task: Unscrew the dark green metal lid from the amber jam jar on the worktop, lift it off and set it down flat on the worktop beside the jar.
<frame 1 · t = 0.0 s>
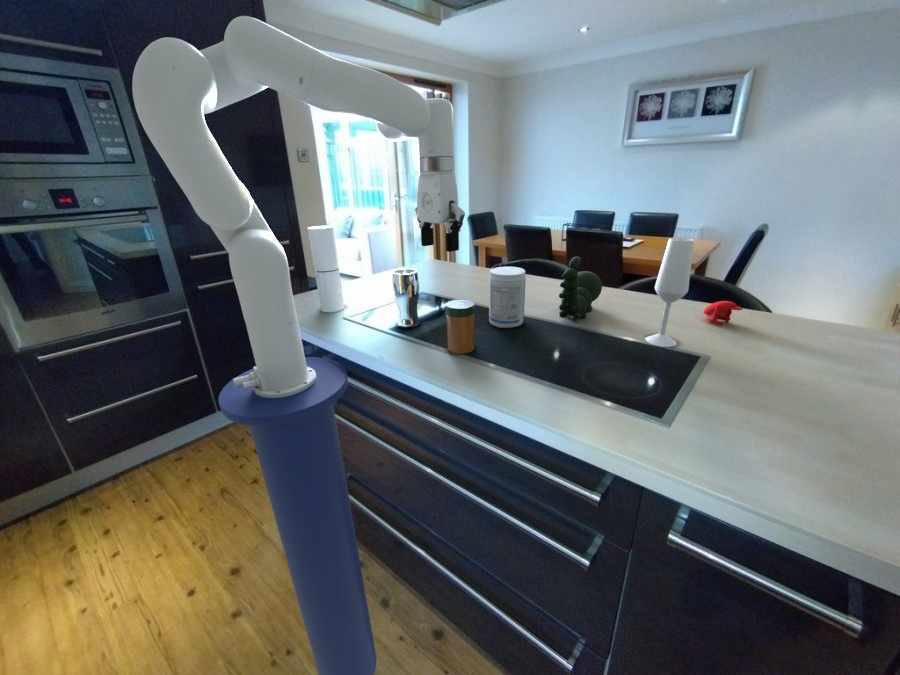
hand: (439, 248, 89), 23 cm above the table, tool pointing down, fingers open, 9 cm apart
cylindrical container: (332, 309, 123), on the table
beer glass: (408, 324, 108), on the table
toy figurine: (577, 313, 113), on the table
red animal figurine: (718, 323, 103), on the table
lid: (460, 305, 88), point 11 cm above the table, screwed on, not yet turned
jar: (460, 348, 92), on the table
supplement tub: (506, 323, 107), on the table
champagne flute: (660, 341, 93), on the table
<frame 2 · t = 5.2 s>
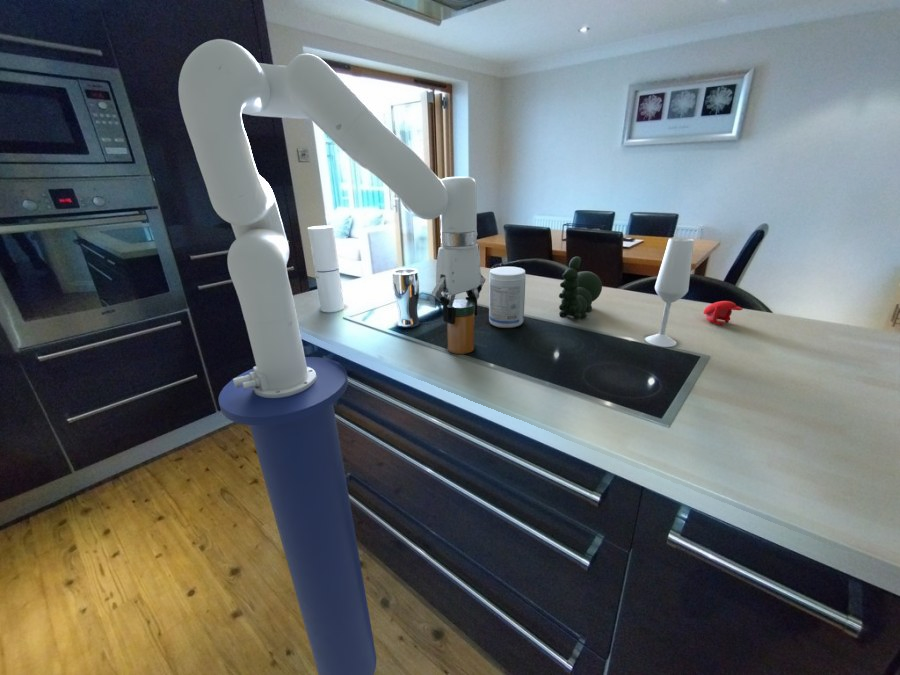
hand: (460, 317, 89), 8 cm above the table, tool pointing down, fingers closed on lid, 6 cm apart
lid: (460, 305, 88), point 11 cm above the table, turned 96° so far, risen 0.1 cm, still on its thread, touching gripper
jar: (460, 348, 92), on the table, touching gripper
everything else where it was.
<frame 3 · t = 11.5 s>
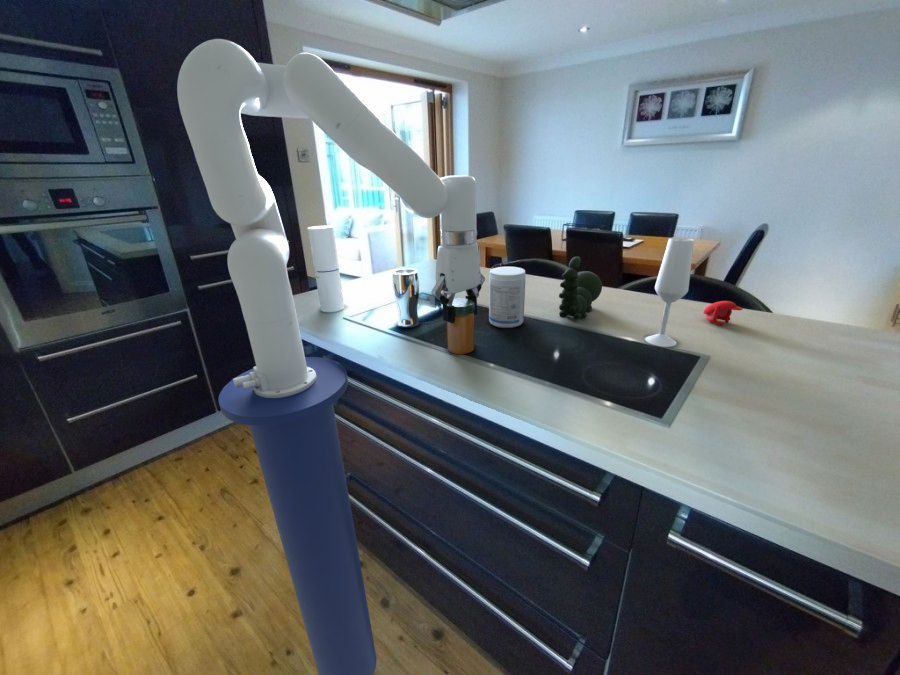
hand: (460, 316, 89), 8 cm above the table, tool pointing down, fingers closed on lid, 6 cm apart
lid: (460, 303, 88), point 11 cm above the table, turned 288° so far, risen 0.4 cm, still on its thread, touching gripper
everything else where it was.
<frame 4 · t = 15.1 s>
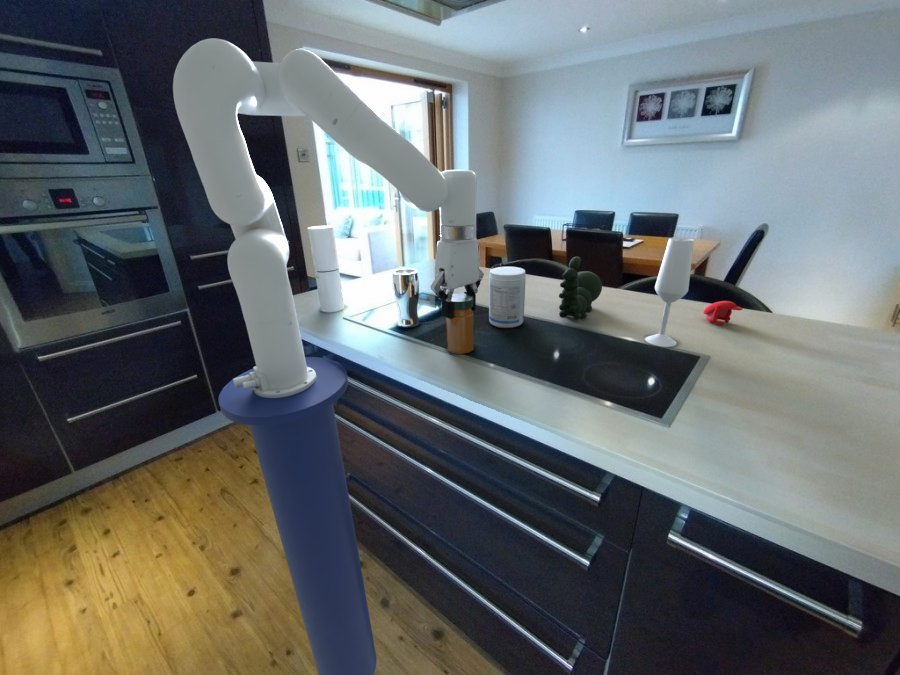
hand: (458, 312, 89), 9 cm above the table, tool pointing down, fingers closed on lid, 6 cm apart
lid: (458, 299, 88), point 12 cm above the table, off its thread, touching gripper
jar: (460, 348, 92), on the table
everything else where it was.
when the fingers open (1 cm above the table, at t = 22.6 s): lid drops 3 cm, point 1 cm above the table.
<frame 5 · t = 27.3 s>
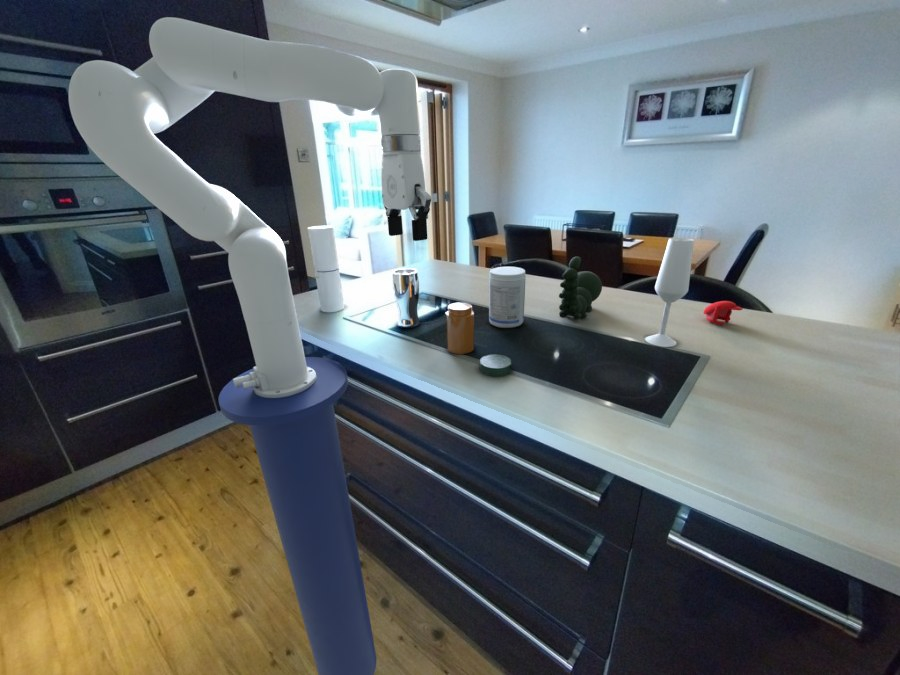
hand: (407, 237, 82), 26 cm above the table, tool pointing down, fingers open, 9 cm apart
lid: (495, 362, 82), point 1 cm above the table, off its thread
everything else where it was.
at the end: lid came off its thread; lid point 1.5 cm above the table; the gripper is holding nothing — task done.
